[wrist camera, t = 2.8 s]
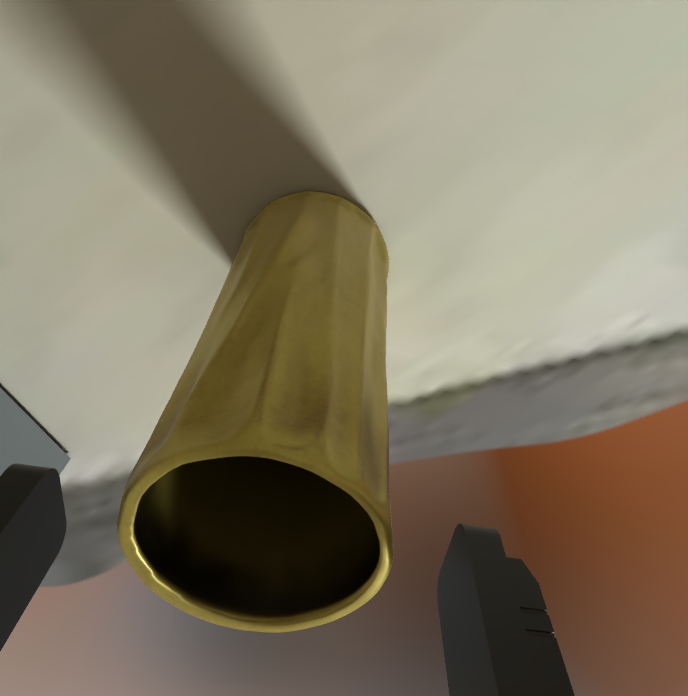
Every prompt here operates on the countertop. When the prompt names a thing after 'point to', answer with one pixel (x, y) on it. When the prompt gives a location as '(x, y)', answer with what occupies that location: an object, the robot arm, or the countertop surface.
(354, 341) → the vase
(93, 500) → the countertop surface
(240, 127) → the countertop surface
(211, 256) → the countertop surface
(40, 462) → the grey flat panel
